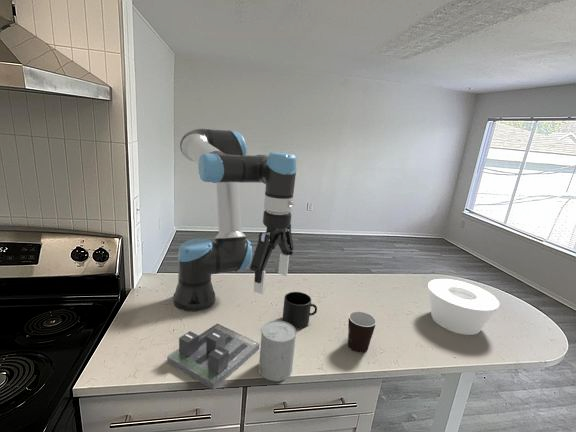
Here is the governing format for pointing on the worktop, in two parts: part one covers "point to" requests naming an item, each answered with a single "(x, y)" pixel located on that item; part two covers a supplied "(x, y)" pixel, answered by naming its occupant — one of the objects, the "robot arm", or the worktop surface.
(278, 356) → the grey stone cylinder
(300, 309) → the mug
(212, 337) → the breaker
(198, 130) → the robot arm
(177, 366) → the panel
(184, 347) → the block
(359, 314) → the dark brown tapered cylinder
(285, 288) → the worktop surface
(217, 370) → the breaker
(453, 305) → the bowl
